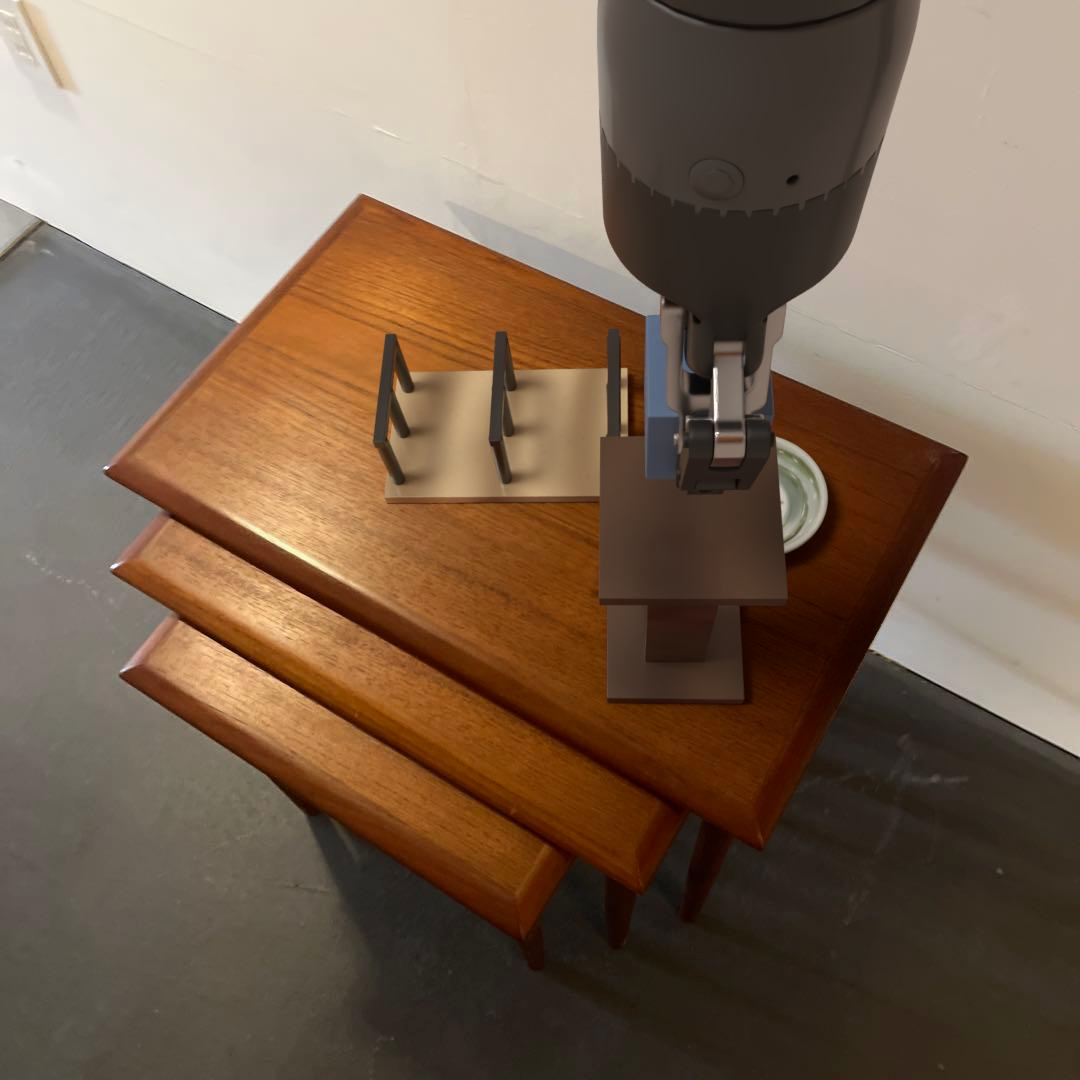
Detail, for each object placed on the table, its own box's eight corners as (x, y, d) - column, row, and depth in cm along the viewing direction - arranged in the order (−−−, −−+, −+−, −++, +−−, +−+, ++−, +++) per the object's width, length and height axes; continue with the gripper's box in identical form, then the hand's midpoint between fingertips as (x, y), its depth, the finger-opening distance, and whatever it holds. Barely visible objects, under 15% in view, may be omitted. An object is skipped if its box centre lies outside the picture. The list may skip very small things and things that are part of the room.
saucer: (793, 433, 72) (798, 416, 70) (843, 548, 68) (850, 533, 66) (668, 468, 72) (669, 452, 70) (711, 585, 68) (714, 572, 66)
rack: (627, 374, 76) (627, 316, 69) (628, 501, 71) (628, 452, 64) (400, 378, 77) (378, 322, 70) (386, 503, 73) (362, 455, 66)
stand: (736, 578, 68) (775, 434, 50) (742, 704, 64) (788, 598, 46) (607, 578, 69) (600, 436, 51) (606, 702, 65) (598, 598, 47)
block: (751, 383, 42) (767, 311, 37) (758, 478, 40) (774, 414, 35) (644, 385, 42) (645, 314, 38) (645, 479, 40) (647, 416, 36)
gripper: (928, 313, 22) (804, 586, 37) (864, -99, 28) (780, 286, 43) (596, 321, 23) (609, 586, 38) (600, -83, 28) (611, 290, 44)
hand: (700, 425), depth 41 cm, fingers closed on block, 4 cm apart
